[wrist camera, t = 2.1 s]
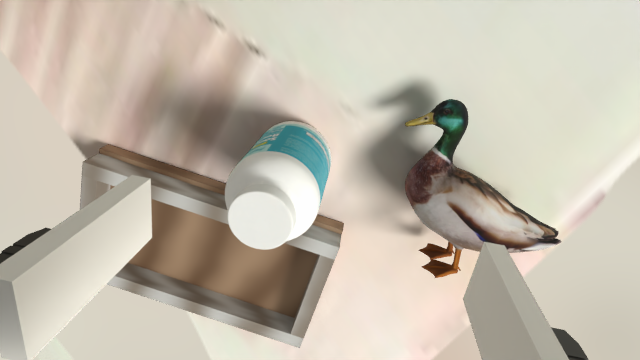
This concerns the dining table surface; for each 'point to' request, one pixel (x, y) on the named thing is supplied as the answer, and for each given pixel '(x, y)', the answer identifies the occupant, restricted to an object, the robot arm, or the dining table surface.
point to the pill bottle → (278, 185)
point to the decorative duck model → (465, 200)
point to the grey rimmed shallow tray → (215, 252)
